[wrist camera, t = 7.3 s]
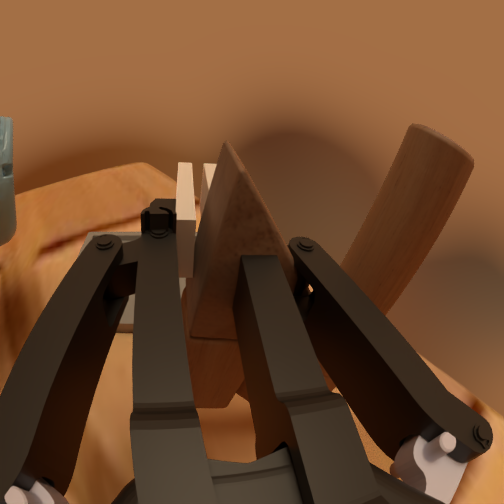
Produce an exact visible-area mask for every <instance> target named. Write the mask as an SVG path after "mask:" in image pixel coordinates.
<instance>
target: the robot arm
mask: <svg viewBox="0 0 504 504" xmlns="http://www.w3.org/2000/svg"><path fill="white" fill-rule="evenodd" d="M216 165H217V164H204V167H203V177H202V187H201V197H200V213H201V217H202V213H203V210H204V206H205V203H206V199H207V196H208V192H209V189H210V185H211V182H212V178H213V175H214V172H215V168H216ZM16 225H17V221H16V208H15V195H14V181H13V120H12V119H11V118H10V117H2V116H1V117H0V246H1V245H4V244H6V243H7V242H9V241H10V240H11V239H12V237H13V236H14V234H15V231H16ZM195 229H196V213H195V201H194V188H193V174H192V163H181V162H179V163H178V176H177V193H176V199H155V200H154V201H153V202H151V203H150V207H148V208H146V209H144V210H143V211H142V212H141V237H140V238H138V239H136V240H134V241H130V242H125V243H122V240H121V238H119V237H118V236H116V235H112V234H103V235H99V236H97V237H95V238H93V239H92V240H91V241H90V242H89V243H88V244H87V246H86V247H85V248H84V250H83V251H82V252H81V254H80V255H79V257H78V258H77V259H76V261H75V262H74V264H73V265H72V267H71V268H70V270H69V271H68V272H67V274H66V275H65V277H64V278H63V280H62V281H61V283H60V284H59V286H58V288H57V289H56V291H55V292H54V294H53V295H52V297H51V299H50V300H49V302H48V303H47V305H46V307H45V308H44V310H43V312H42V313H41V315H40V317H39V319H38V320H37V322H36V324H35V326H34V327H33V329H32V331H31V333H30V335H29V337H28V338H27V340H26V342H25V344H24V346H23V348H22V350H21V352H20V354H19V356H18V358H17V360H16V362H15V364H14V366H13V368H12V370H11V373H10V375H9V377H8V379H7V382H6V384H5V386H4V389H3V391H2V393H1V396H0V504H69V503H68V501H67V500H66V499H65V498H64V495H65V493H66V492H67V489H68V487H69V484H70V482H71V479H72V476H73V472H74V469H75V465H76V461H77V456H78V452H79V448H80V444H81V440H82V436H83V432H84V428H85V425H86V421H87V417H88V414H89V410H90V407H91V404H92V400H93V397H94V394H95V391H96V387H97V384H98V381H99V378H100V375H101V372H102V369H103V366H104V363H105V360H106V358H107V355H108V352H109V349H110V346H111V344H112V341H113V338H114V336H115V333H116V330H117V328H118V325H119V323H120V320H121V318H122V315H123V313H124V310H125V308H126V305H127V303H128V300H129V295H133V294H135V304H134V322H133V357H132V375H133V412H132V413H131V416H130V436H131V449H132V459H133V468H134V476H135V478H134V479H133V480H131V481H130V482H129V483H128V484H127V485H126V486H125V487H124V488H123V489H122V490H121V492H120V493H119V494H118V496H117V497H116V498H115V499H114V501H113V502H112V503H111V504H449V503H450V501H451V499H452V497H453V495H454V493H455V491H456V489H457V487H458V484H459V482H460V480H461V478H462V475H463V473H464V470H465V468H466V465H467V463H468V462H469V461H471V460H473V459H475V458H477V457H478V456H480V455H482V454H483V453H485V452H486V451H487V450H489V449H490V447H491V444H492V440H493V433H492V429H491V426H490V424H489V423H488V422H487V421H486V419H485V418H483V417H482V416H481V415H479V414H478V413H477V412H475V411H474V410H473V409H471V408H470V407H468V406H467V405H466V404H464V403H463V402H462V401H460V400H459V399H458V398H456V397H455V396H454V395H452V394H451V393H450V392H448V391H447V390H446V388H445V387H444V386H443V384H442V383H441V382H440V381H439V379H438V378H437V377H436V376H435V374H434V373H433V372H432V371H431V369H430V368H429V367H428V366H427V365H426V363H425V362H424V361H423V360H422V359H421V357H420V356H419V355H418V354H417V353H416V351H415V350H414V349H413V348H412V347H411V345H410V344H409V343H408V342H407V341H406V339H405V338H404V337H403V336H402V335H401V334H400V333H399V331H398V330H397V329H396V328H395V327H394V326H393V325H392V323H391V322H390V321H389V320H388V319H387V318H386V317H385V315H384V314H383V313H382V312H381V311H380V310H379V309H378V307H377V306H376V305H375V304H374V303H373V302H372V301H371V300H370V299H369V297H368V296H367V295H366V294H365V293H364V292H363V291H362V290H361V289H360V288H359V287H358V285H357V284H356V283H355V282H354V281H353V280H352V279H351V278H350V277H349V276H348V275H347V274H346V273H345V271H344V270H343V269H342V268H341V267H340V266H339V265H338V264H337V263H336V262H335V261H334V260H333V259H332V258H331V257H330V256H329V255H328V254H327V253H326V252H325V251H324V250H323V248H321V246H320V245H319V244H317V243H316V242H315V241H313V240H311V239H309V238H305V237H295V238H292V239H291V240H290V241H289V245H287V247H288V249H289V250H290V252H291V254H292V256H293V259H294V266H295V267H296V268H297V278H298V279H297V282H296V286H295V290H294V294H292V292H291V289H290V287H289V284H288V282H287V279H286V276H285V274H284V271H283V269H282V266H281V264H280V261H279V259H278V256H277V255H241V259H240V265H239V272H238V279H237V285H236V291H235V295H234V300H233V306H232V310H233V316H234V322H235V328H236V333H237V339H238V345H239V350H240V356H241V361H242V366H243V372H244V377H245V382H246V388H247V393H248V398H249V403H250V408H251V413H252V418H253V423H254V428H255V433H256V443H255V449H256V457H257V460H256V461H253V462H251V463H237V462H227V461H219V460H212V459H207V456H206V451H205V447H204V442H203V437H202V432H201V427H200V422H199V417H198V413H197V411H196V408H195V404H194V398H193V392H192V385H191V379H190V372H189V365H188V358H187V350H186V342H185V334H184V325H183V316H182V306H181V295H180V284H179V278H193V261H194V244H195ZM309 284H310V285H311V287H312V288H313V292H311V293H310V294H309V296H301V295H302V293H303V290H304V289H306V287H308V286H309ZM293 296H301V297H293ZM317 359H318V360H319V362H320V363H321V365H322V366H323V368H324V369H325V371H326V372H327V374H328V375H329V377H330V378H331V379H332V381H333V382H334V384H335V385H336V387H337V388H338V390H339V391H340V393H341V394H342V396H343V397H342V396H341V395H340V394H338V393H333V392H331V391H330V390H329V388H328V386H327V384H326V381H325V378H324V376H323V373H322V370H321V368H320V365H319V362H318V360H317ZM345 400H346V401H345ZM346 402H347V403H348V404H347V403H346ZM348 405H349V406H350V408H351V409H352V411H353V412H354V414H355V415H356V416H357V418H358V419H359V421H360V422H361V424H362V425H363V427H364V428H365V430H366V431H367V433H368V434H369V436H370V437H371V438H372V439H373V441H374V442H375V443H376V445H377V446H378V447H379V448H380V449H381V450H382V451H383V452H384V453H385V454H386V455H387V456H388V457H390V458H391V459H392V460H393V461H394V463H393V464H391V466H390V474H391V475H390V474H388V473H387V472H385V471H383V470H381V469H380V468H378V467H376V466H375V465H373V464H371V463H370V462H369V461H368V458H367V455H366V452H365V450H364V447H363V444H362V441H361V439H360V436H359V433H358V431H357V428H356V425H355V423H354V420H353V417H352V415H351V412H350V409H349V407H348ZM397 478H401V479H402V480H403V481H401V480H399V479H397Z"/></svg>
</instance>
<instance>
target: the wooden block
mask: <svg viewBox="0 0 504 504" xmlns="http://www.w3.org/2000/svg"><path fill="white" fill-rule="evenodd" d="M473 168H474V159H473V158H472V157H471V155H470V154H469V153H468V152H467V151H466V150H465V149H463V148H462V147H461V146H460V145H458V144H457V143H455V142H454V141H453V140H451V139H449V138H448V137H446V136H444V135H443V134H441V133H439V132H437V131H435V130H433V129H431V128H429V127H427V126H424V125H420V124H412V125H410V126H409V128H408V130H407V132H406V135H405V137H404V139H403V142H402V144H401V146H400V149H399V151H398V153H397V155H396V158H395V160H394V162H393V164H392V166H391V168H390V171H389V173H388V175H387V177H386V179H385V181H384V183H383V185H382V187H381V189H380V192H379V194H378V196H377V198H376V200H375V202H374V204H373V206H372V207H371V209H370V211H369V213H368V215H367V217H366V219H365V221H364V223H363V225H362V227H361V229H360V231H359V232H358V234H357V236H356V238H355V240H354V242H353V244H352V246H351V247H350V249H349V251H348V253H347V254H346V256H345V258H344V260H343V262H342V263H341V265H340V267H341V268H342V269H343V270H344V271H345V273H346V274H347V275H348V276H349V277H350V278H351V279H352V280H353V281H354V282H355V283H356V284H357V285H358V287H359V288H360V289H361V290H362V291H363V292H364V293H365V294H366V295H367V296H368V297H369V299H370V300H371V301H372V302H373V303H374V304H375V305H376V306H377V307H378V309H379V310H380V311H381V312H382V313H383V314H384V315H386V314H387V313H388V311H389V310H390V309H391V307H392V306H393V305H394V303H395V302H396V301H397V299H398V298H399V296H400V295H401V294H402V292H403V291H404V289H405V288H406V286H407V285H408V283H409V282H410V280H411V279H412V278H413V276H414V275H415V273H416V272H417V270H418V269H419V267H420V265H421V264H422V262H423V261H424V259H425V258H426V256H427V254H428V253H429V251H430V250H431V248H432V246H433V245H434V243H435V241H436V240H437V238H438V236H439V234H440V233H441V231H442V229H443V227H444V226H445V224H446V222H447V220H448V218H449V217H450V215H451V213H452V211H453V209H454V207H455V205H456V203H457V201H458V199H459V197H460V195H461V193H462V191H463V189H464V187H465V185H466V183H467V181H468V179H469V177H470V175H471V172H472V170H473ZM241 255H277V256H278V259H279V261H280V264H281V266H282V269H283V271H284V274H285V276H286V279H287V282H288V284H289V287H290V289H291V292H292V294H294V290H295V286H296V282H297V279H298V278H297V268H296V267H295V266H294V259H293V256H292V254H291V252H290V250H289V249H288V247H287V245H286V243H285V241H284V239H283V237H282V235H281V233H280V231H279V229H278V227H277V226H276V224H275V222H274V220H273V218H272V216H271V214H270V212H269V210H268V209H267V207H266V205H265V203H264V201H263V199H262V197H261V196H260V194H259V192H258V190H257V188H256V186H255V185H254V183H253V181H252V179H251V177H250V175H249V174H248V172H247V170H246V168H245V167H244V165H243V163H242V162H241V160H240V158H239V157H238V155H237V153H236V152H235V150H234V149H233V147H232V145H231V144H230V142H228V141H225V142H224V143H223V146H222V149H221V152H220V155H219V158H218V162H217V165H216V168H215V172H214V175H213V178H212V182H211V185H210V189H209V192H208V196H207V199H206V203H205V206H204V210H203V213H202V217H201V221H200V224H199V228H198V232H197V236H196V240H195V244H194V261H193V278H186V286H185V288H184V290H183V292H182V297H181V306H182V316H183V325H184V334H185V342H186V350H187V358H188V365H189V372H190V379H191V385H192V392H193V398H194V404H195V408H225V407H227V406H228V404H229V403H230V401H231V400H232V398H233V396H234V395H235V393H237V394H238V395H240V396H241V397H243V398H244V399H246V400H247V401H248V402H249V398H248V393H247V388H246V382H245V377H244V372H243V366H242V361H241V356H240V350H239V345H238V339H237V333H236V328H235V322H234V316H233V310H232V306H233V300H234V295H235V291H236V285H237V279H238V272H239V265H240V259H241ZM310 293H311V292H310V290H309V288H308V287H306V289H304V290H303V293H302V295H301V296H309V294H310ZM301 296H293V297H301ZM317 360H318V359H317ZM318 362H319V360H318ZM319 365H320V368H321V370H322V373H323V376H324V378H325V381H326V384H327V386H328V388H329V390H330V391H332V390H333V389H334V388H335V387H336V385H335V384H334V382H333V381H332V379H331V378H330V377H329V375H328V374H327V372H326V371H325V369H324V368H323V366H322V365H321V363H320V362H319Z"/></svg>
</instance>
